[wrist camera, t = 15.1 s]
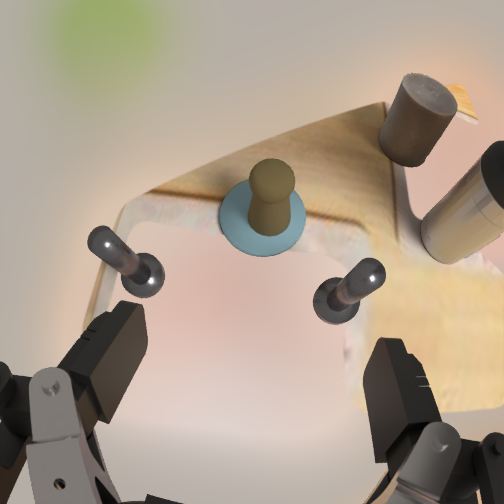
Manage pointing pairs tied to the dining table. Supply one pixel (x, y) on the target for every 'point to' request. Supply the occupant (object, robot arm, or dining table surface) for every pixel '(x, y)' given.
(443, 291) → the dining table surface
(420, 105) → the pillar candle
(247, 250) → the teal mat
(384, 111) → the dining table surface
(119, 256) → the gap posts
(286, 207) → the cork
